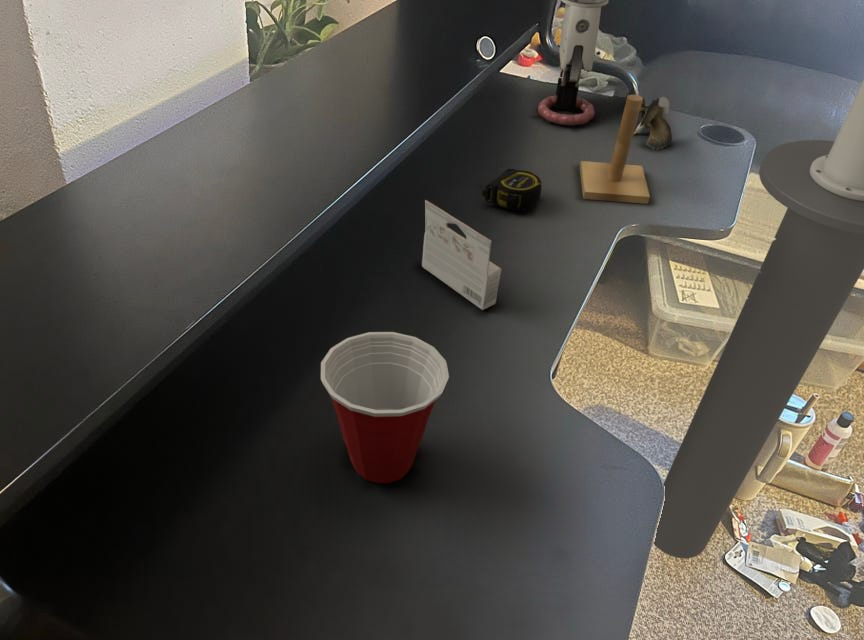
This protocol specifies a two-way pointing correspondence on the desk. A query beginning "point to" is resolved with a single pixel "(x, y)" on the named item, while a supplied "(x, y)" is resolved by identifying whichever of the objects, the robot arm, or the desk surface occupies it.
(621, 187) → the stand
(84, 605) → the desk surface
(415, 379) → the plastic cup
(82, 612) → the desk surface
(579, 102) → the ring
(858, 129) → the robot arm
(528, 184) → the tape measure
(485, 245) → the ink cartridge box
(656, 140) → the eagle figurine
